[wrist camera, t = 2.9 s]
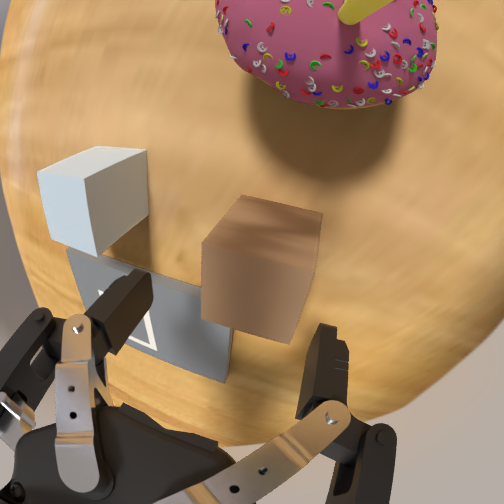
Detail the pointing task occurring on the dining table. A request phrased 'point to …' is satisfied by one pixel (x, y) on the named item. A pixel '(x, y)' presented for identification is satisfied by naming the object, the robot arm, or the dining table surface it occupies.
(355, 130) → the dining table surface
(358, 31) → the cupcake
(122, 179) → the greyblue block
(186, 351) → the grey flat plate
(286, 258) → the walnut block
